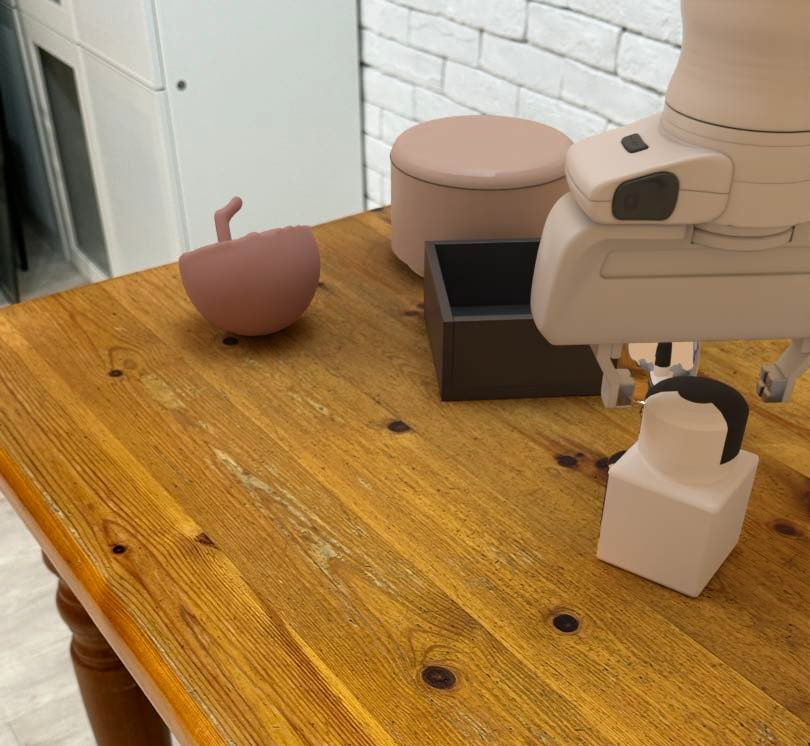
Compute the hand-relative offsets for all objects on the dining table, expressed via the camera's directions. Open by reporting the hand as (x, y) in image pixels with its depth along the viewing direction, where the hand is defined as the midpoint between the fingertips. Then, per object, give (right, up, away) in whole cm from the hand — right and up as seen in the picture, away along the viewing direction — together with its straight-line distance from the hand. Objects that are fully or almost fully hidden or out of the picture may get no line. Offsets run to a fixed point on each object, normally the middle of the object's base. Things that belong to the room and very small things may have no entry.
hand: (694, 400), depth 62 cm
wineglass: (0, -3, +15) cm, 15 cm away
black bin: (-7, +8, +29) cm, 31 cm away
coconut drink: (-30, +11, +32) cm, 45 cm away
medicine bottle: (0, -9, +7) cm, 12 cm away
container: (-10, +20, +44) cm, 50 cm away
